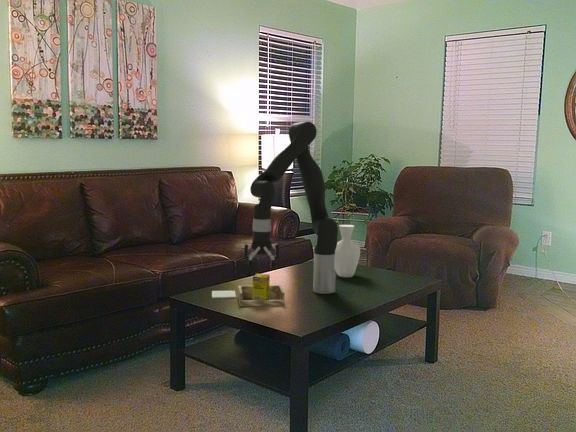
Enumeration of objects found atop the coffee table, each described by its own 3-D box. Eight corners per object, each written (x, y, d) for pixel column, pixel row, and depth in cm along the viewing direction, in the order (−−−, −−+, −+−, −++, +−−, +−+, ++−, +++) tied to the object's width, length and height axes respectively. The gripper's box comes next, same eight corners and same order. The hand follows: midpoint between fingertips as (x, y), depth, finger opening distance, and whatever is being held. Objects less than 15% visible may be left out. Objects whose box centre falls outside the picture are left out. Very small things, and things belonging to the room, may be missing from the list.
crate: (280, 296, 242) (280, 285, 242) (284, 305, 229) (284, 293, 229) (238, 297, 240) (238, 285, 239) (239, 306, 227) (240, 293, 226)
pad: (234, 291, 248) (234, 290, 248) (236, 298, 239) (236, 296, 239) (211, 292, 247) (211, 290, 247) (211, 298, 237) (211, 297, 237)
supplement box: (266, 303, 231) (266, 277, 230) (252, 302, 232) (252, 276, 231) (269, 299, 237) (270, 274, 235) (255, 298, 238) (256, 273, 237)
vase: (361, 279, 276) (362, 228, 273) (331, 278, 277) (333, 227, 273) (357, 272, 291) (359, 224, 287) (329, 271, 291) (331, 223, 288)
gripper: (278, 228, 235) (277, 266, 238) (243, 228, 234) (243, 266, 236) (280, 231, 228) (279, 270, 230) (244, 231, 226) (244, 271, 228)
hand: (261, 268), depth 233 cm, fingers open, 8 cm apart
